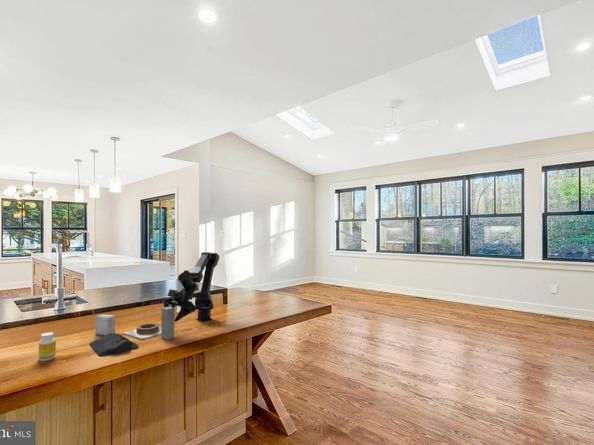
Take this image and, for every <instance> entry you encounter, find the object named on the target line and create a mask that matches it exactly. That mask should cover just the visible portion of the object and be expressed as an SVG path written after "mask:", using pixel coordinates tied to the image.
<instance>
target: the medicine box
mask: <svg viewBox="0 0 594 445" xmlns="http://www.w3.org/2000/svg"><path fill="white" fill-rule="evenodd" d="M94 322H95V323H94V324H95V328H94V329H95V330H94V332H95V335H101V336H102V335H103V336H105V335H107V334H116V315H114V314H113V315H112V314H99V315H97V316H95V321H94Z"/></svg>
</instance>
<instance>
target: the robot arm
mask: <svg viewBox="0 0 594 445" xmlns="http://www.w3.org/2000/svg"><path fill="white" fill-rule="evenodd" d="M219 260H220V255H219V254H218V252H208V251H203V252H201V254H200V257H199V258H198V260H197V262H196V264H195V265H194V267H193V268H190V269H189V270H188V269H187V270H184V271H183V272H181V273H179V275H178V276H177V280H178V281H179V283H180V285H181V286H182V287H183V288H182V289H178V290H176V289H171V288H170V289H169V290H168V292H167V297H163V299H162V300H161V302H162V305H163V308H165V307H174V308H175V307H180V310H179V312H178V313H177V315H176V316H175V317H174V323H176V322H178V321H180V320H181V319H183V318H184V317H187V316H188V315H190V314H192V313H195V311H196V310H197V318H196V319H195V320H196V321H198V322H199V321H200V322H203V323H205V322H208V321H211V320H213V318H212V317H211V312H212V310H214V305H215V304H214V302H213V300H212V295H211V293H210V291H211V285H212V280H213V275H214V270H215V267H217V266H218V264H219ZM203 273H204V274H203ZM201 282H202V284H201V290H200V291H199V285H198V283H201ZM196 291H197V293H196V297H195V300H194V303H193V302H192V301H191V300H193V297H192V296H193V295H194V293H195V292H196ZM198 291H199V292H198ZM160 318H161V319H162V315H161V316H160Z"/></svg>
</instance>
